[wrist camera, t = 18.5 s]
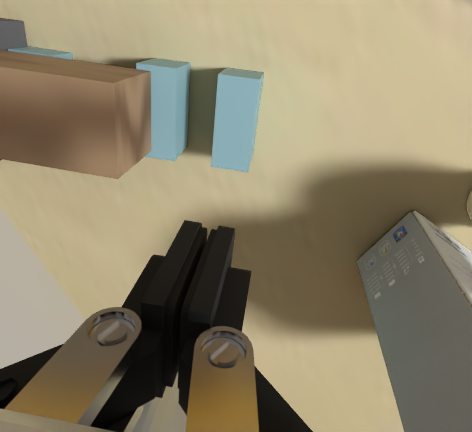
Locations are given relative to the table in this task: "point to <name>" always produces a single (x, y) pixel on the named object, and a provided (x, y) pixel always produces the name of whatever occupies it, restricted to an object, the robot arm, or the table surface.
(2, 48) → the block
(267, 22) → the table surface
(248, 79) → the block
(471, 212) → the beer glass
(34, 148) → the slab
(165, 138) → the block
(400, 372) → the hard drive box
